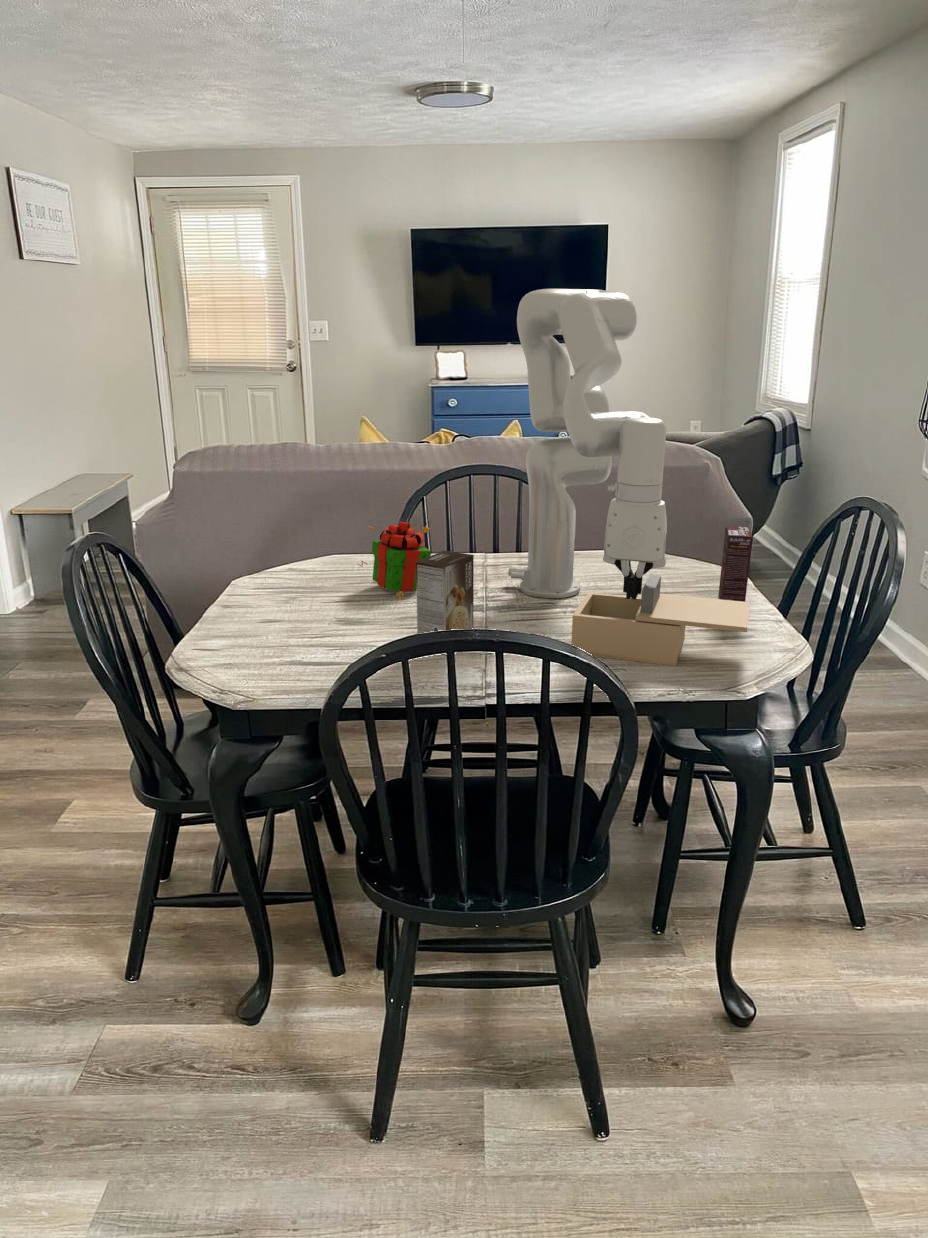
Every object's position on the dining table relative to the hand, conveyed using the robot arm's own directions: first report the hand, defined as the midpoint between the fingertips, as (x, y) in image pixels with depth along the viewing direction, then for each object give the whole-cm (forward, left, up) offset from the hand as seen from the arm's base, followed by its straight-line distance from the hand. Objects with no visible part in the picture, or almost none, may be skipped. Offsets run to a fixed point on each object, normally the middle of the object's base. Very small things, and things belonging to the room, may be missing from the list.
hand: (631, 596), depth 162 cm
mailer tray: (0, 0, -9) cm, 9 cm away
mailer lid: (+11, 0, -2) cm, 11 cm away
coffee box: (-31, -10, -9) cm, 34 cm away
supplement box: (+16, +28, -9) cm, 34 cm away
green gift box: (-53, +21, -10) cm, 58 cm away
